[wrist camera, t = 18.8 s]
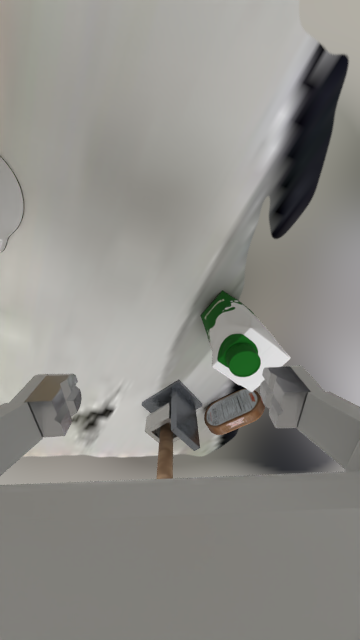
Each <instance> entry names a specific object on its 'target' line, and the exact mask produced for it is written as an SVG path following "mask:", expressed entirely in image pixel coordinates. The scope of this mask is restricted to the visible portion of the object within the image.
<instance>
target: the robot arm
mask: <svg viewBox="0 0 360 640" xmlns="http://www.w3.org/2000/svg"><path fill="white" fill-rule="evenodd" d="M22 215H23V197H22V193H21V189H20V186H19V184H18V182H17V179H16V177H15V176H14V174H13V172H12V171H11V169H10V168H9V166H8V165H7V164H6V163H5V161H4V160H3V159H2V158H1V157H0V252H2V251H3V250H4V249H5V246H6V243H7V239H8V237H9V236H10V235H11V234H12V233H13V232H14V231H15V230H16V229H17V227H18V226H19V224H20V222H21V219H22ZM262 376H263V377H264V379H265V380H264V381H263V382H262V383H261V386H260V394H261V399H262V401H263V404H264V406H266V407H267V408H269V409H270V410H269V416H270V418H271V419H272V422H273V424H274V426H275V428H297V429H298V430H299V431H300V432H301V433H303V434H304V435H305V436H306V437H308V438H309V439H310V440H311V441H312V442H313V443H314V444H316V445H317V446H318V447H319V448H320V449H322V450H323V451H324V452H325V453H326V454H327V455H329V456H330V457H331V458H332V459H333V460H335V461H336V462H337V463H338V464H339V465H340V466H342V467H343V468H344V469H345V471H344V472H322V473H297V474H273V475H247V476H223V477H199V478H175V479H173V478H172V479H146V480H122V481H94V482H68V483H43V484H20V485H0V640H360V407H359V406H357V405H355V404H353V403H351V402H349V401H347V400H345V399H343V398H341V397H339V396H337V395H335V394H333V393H331V392H325V391H324V390H323V389H322V388H321V386H320V385H319V384H318V383H317V382H316V381H315V380H314V379H313V377H312V376H310V374H309V373H308V372H307V371H306V370H305V369H304V368H303V367H302V366H300V365H298V366H288V367H265V368H264V369H263V373H262ZM77 382H78V381H77V378H76V375H74V374H38V375H35V376H34V377H33V378H32V379H31V380H30V381H29V382H28V383H27V384H26V385H25V386H24V388H23V389H22V390H21V391H20V392H19V393H18V394H17V395H16V396H15V397H14V398H13V399H12V400H11V401H10V402H9V403H4V404H2V405H1V406H0V476H1V475H2V474H3V473H4V472H5V471H6V470H7V469H9V468H10V467H11V466H12V465H13V464H14V463H16V462H17V461H18V460H19V459H20V458H21V457H22V456H23V455H25V454H26V453H27V452H28V451H29V450H30V449H31V448H32V447H34V446H35V445H36V444H37V443H38V442H39V441H40V440H42V437H56V436H65V434H66V432H67V430H68V429H69V427H70V425H71V423H72V419H71V416H73V415H74V414H75V413H77V411H78V409H79V407H80V404H81V392H80V389H79V388H77V387H76V386H75V385H76V383H77Z"/></svg>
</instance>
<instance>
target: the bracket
mask: <svg viewBox="0 0 360 640" xmlns="http://www.w3.org/2000/svg"><path fill="white" fill-rule="evenodd" d="M142 406H143V407H145V408H146V409H147V410H148V411H149V412H150V413H151V414H150V415H149V416H148V417H147V420H146V427H145V432H146V433H147V434H149V435H150V436H151V437H152V438H154V439H155V440H156V441H157V442H158V443H159V438H160V427H161V426H162V425H164V424H166V423H168V422H169V423H170V424H171V431H172V432H173V442H175V441H177V440H179V439H181V440H182V441H184V442H185V443H186V444H187V445H188V446H189V447H190V448H192V449H193V450H194V451H195V450H197V449H199V448H200V444H199V435H198V426H197V417H196V409H198V408H199V407H201V406H202V403H201V402H200V401H199V400H198V399H197V398H196V397H195V396H194V395H193V394H192V393H191V392H190V391H189V390H188V389H187V388H186V387H185V386H184V385H183V384H182V383H181V382H180V381H179V380H178V381H176V382H174V383H173V384H171V385H170V386H168V387H166V388H165V389H163V390H161V391H160V392H158V393H157V394H155V395H153V396H152V397H150V398H149V399H147V400H145V401H144V402H142Z"/></svg>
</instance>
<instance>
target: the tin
mask: <svg viewBox="0 0 360 640" xmlns="http://www.w3.org/2000/svg"><path fill="white" fill-rule="evenodd" d="M264 409H265V406H264V404H263V401H262V399H261V397H260V395H259V394H258V392H256V391H255V390H254V391H253V392H251V391H249V390H247V389H246V388H245V389H241V390H238V391H236V392H234V393H232V394H230V395H228V396H225V397H223V398H221V399H219V400H217V401H215V402H213V403H212V404H211V405H210V406H209V407H208V408H207V410H206V412H205V417H204V419H205V423H206V425H207V426H208V428H209V430H210V431H211V432H212V433H214V434H216V435H222V434H226V433H228V432H230V431H233V430H235V429H237V428H240V427H242V426H244V425H247V424H249V423H252V422H254V421H256V420H257V419H258V418H260V416H261V415H262V414H263V412H264Z"/></svg>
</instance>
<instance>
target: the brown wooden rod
mask: <svg viewBox="0 0 360 640" xmlns="http://www.w3.org/2000/svg"><path fill="white" fill-rule="evenodd" d="M172 478H173V432H172V431H171V424H170V423H169V422H168V423H166V424H164V425H162V426H161V427H160V438H159V453H158V467H157V479H172Z"/></svg>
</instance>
